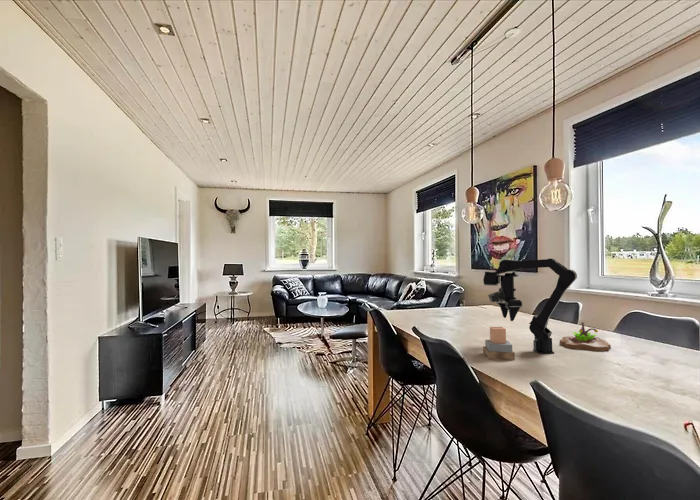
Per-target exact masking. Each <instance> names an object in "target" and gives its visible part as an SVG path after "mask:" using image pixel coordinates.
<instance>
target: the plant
mask: <svg viewBox="0 0 700 500" xmlns="http://www.w3.org/2000/svg"><path fill="white" fill-rule="evenodd" d="M580 325H581V328H580V329H579V330H578V332H576V331H572V333H573V336H572V335H570V336H563V337H562V338H561V339H560V340H559V345H560V346H561V345H562V346H561V347H564V348H567V349H572V350H582V351H583V350H585V351H592V352H609V351H610V350H611V348H612V347H611V344H610V343H609V342H608V341H607V340H605V339H602V338H600V337H598V336H597V334H592V333H591V332H589V331H592V330H593V331H594V333H598V329H597V328H592V327H591V328H588V329H587V330H586V329H585V322H584V321H581V322H580Z"/></svg>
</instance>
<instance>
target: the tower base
mask: <svg viewBox="0 0 700 500" xmlns="http://www.w3.org/2000/svg"><path fill="white" fill-rule="evenodd" d="M482 353H483V355H484V356H485V357H487V359H488V360H492V361H493V360H494V361H498V360H499V361H501V360H503V361H510V360H511V361H516V353H515V351H514V350H512V352H489V350H488V349H487V348H486V347H485V346H484V345H483V346H482Z"/></svg>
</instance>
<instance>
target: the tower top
mask: <svg viewBox="0 0 700 500" xmlns="http://www.w3.org/2000/svg"><path fill="white" fill-rule="evenodd" d="M484 341H485V342H484V344H485V347H486V348H487V349H488V350H489V352H512V351H513V344H512V343H511V342H510V341H508V339H506V343H493V342H491V341H490V339H484Z"/></svg>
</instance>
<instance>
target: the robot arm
mask: <svg viewBox="0 0 700 500" xmlns="http://www.w3.org/2000/svg"><path fill="white" fill-rule="evenodd" d="M536 268H537V269H539V268H549V269H550V270H551V271H553V272H554V273H555V274H556V275H557V276H558V277H557V282H556V286H555V288H554V290H553V291H552V293H551V294H550V296H549V297H548V300H547V302H546V303H545V305H544V307H543V309H542V310H541V312H540V313H539V314H535V315H533V316H532V319H531V321H530V322H529V323H528V324H529V326H528V327H529V331H530V332H531V334H533V336H534V340H533V348H532V350H533V351H535V352H536V353H538V354H555V352H554V351H553V338H552V337H551V336H552V334H553V332H552V331H551V330H550V329H549V328H548V324H549V321H550V318H551V316H552V314H553V312H554V310H555V309H556V307H557V306H558V304H559V302H561V301H560V300H561V299H562V297H563V296H564V295H565V292H566V291H567V290H568V289H569V288H570V287H571V285H573V283H574V282H575V281H576V280H577V278H578V274H577V272H576V271H575V270H574V269H571V268H567V267H566V266H564V265H563V264H561V263H560V262H559V261H558V260H556V259H555V258H551V257H550V258H546V259H533V260H531V259H530V260H515V259H502V260H500V262H499V264H498V268H496V270H495V271H484V275H483V285H484V286H495V287H496V286H498V285H500V287H498V291H496V292H492V293H490V294H489V293H488V295H487V296H488V298H489V302H492V303H495V302H496V304H497V305H498V306H499V307H500V311H501V314H502V317H503V318H504V319H507V316H509V320H510V322H514V320H515V318H516V316H517V314H518V313H519V310H520V309H521V308H522V307H523V302H522V300H521V299H518V298H517V297H515V292H516V291H517V290H516V289H517V288H515V277H517V278H518V277H519V274H518V273H517V272H516V271H518V270H521V269H536ZM508 313H509V315H508Z"/></svg>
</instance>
